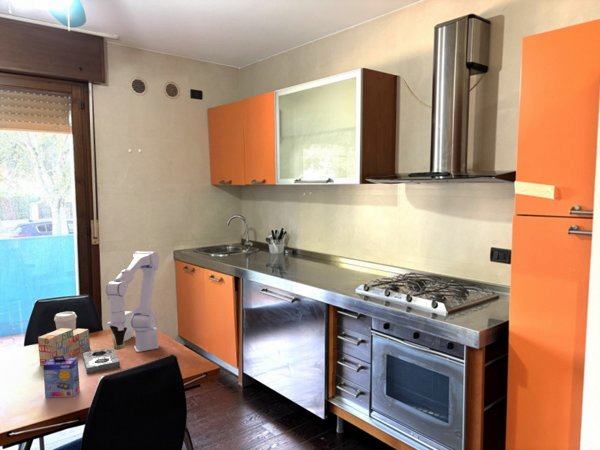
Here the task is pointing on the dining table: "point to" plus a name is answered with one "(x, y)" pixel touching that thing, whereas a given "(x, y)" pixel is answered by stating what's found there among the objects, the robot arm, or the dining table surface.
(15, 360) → the dining table surface
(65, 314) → the coffee cup
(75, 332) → the stack of blocks
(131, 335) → the supplement box
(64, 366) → the ink cartridge box
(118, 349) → the gold rounded cylinder
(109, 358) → the plate
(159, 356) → the dining table surface
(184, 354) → the dining table surface
